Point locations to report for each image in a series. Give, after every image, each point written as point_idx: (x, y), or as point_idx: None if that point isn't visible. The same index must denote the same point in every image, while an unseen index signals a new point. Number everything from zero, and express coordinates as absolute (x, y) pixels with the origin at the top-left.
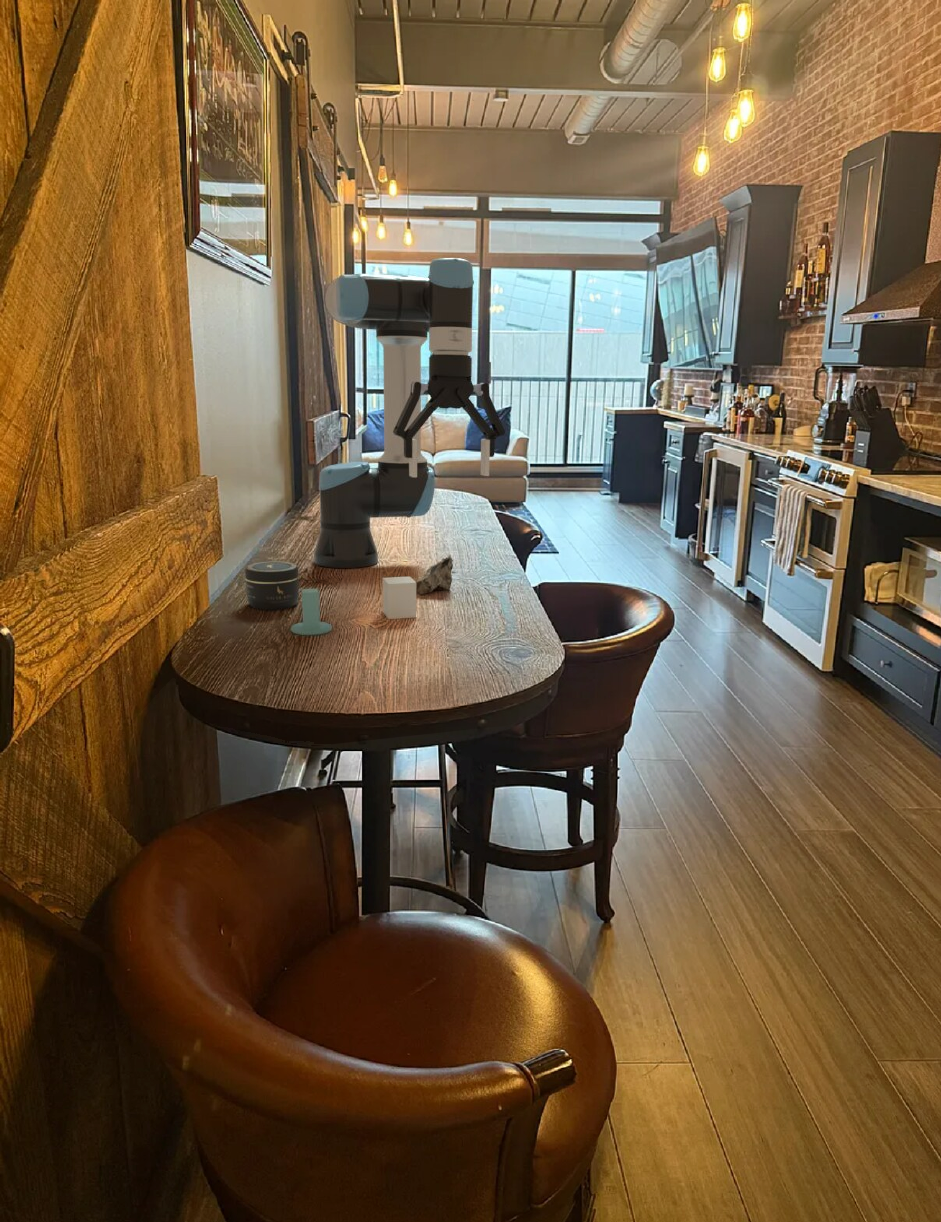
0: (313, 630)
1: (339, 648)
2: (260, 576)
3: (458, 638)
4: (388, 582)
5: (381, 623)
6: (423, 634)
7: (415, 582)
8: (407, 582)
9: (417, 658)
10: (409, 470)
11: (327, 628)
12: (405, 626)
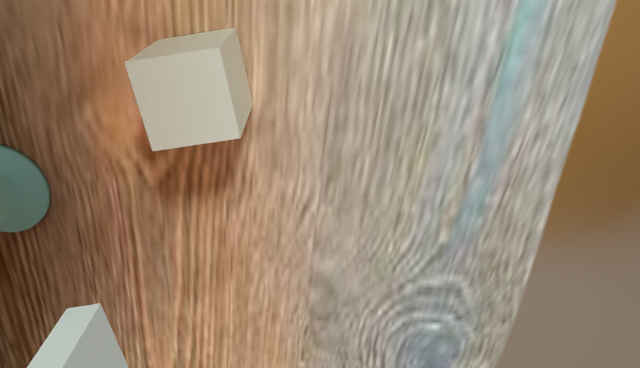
0: (11, 218)
1: None
2: None
3: (337, 269)
4: (151, 130)
5: None
6: (264, 239)
7: (238, 135)
8: (212, 135)
9: (246, 364)
10: (49, 346)
11: (40, 205)
12: (224, 178)
